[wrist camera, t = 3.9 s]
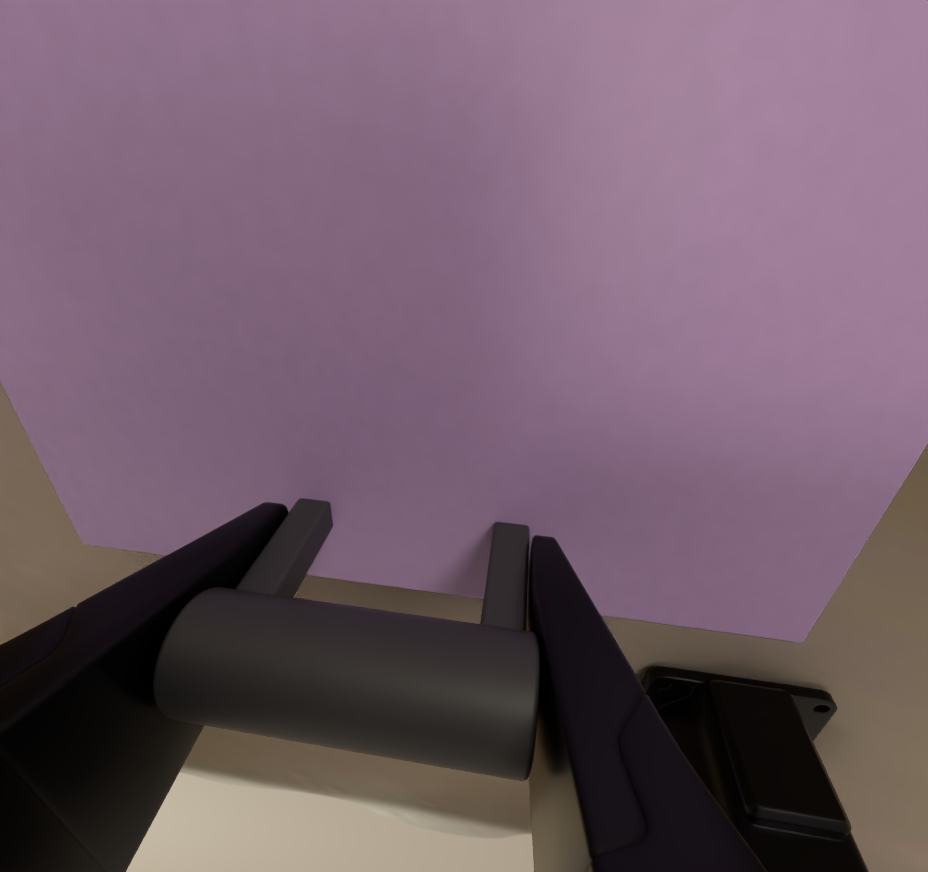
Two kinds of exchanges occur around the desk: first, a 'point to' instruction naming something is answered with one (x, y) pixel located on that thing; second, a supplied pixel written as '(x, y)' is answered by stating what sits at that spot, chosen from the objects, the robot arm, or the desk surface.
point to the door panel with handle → (465, 323)
